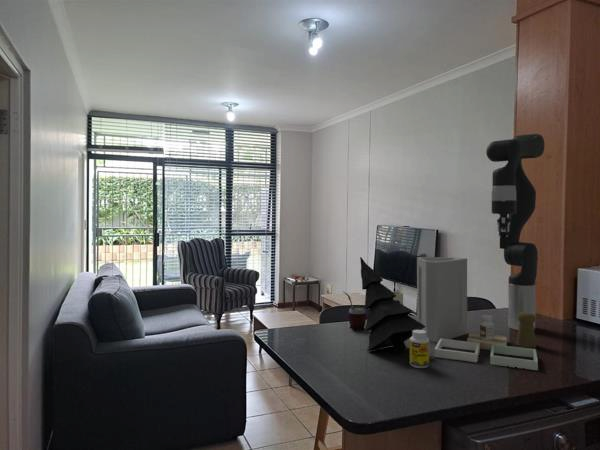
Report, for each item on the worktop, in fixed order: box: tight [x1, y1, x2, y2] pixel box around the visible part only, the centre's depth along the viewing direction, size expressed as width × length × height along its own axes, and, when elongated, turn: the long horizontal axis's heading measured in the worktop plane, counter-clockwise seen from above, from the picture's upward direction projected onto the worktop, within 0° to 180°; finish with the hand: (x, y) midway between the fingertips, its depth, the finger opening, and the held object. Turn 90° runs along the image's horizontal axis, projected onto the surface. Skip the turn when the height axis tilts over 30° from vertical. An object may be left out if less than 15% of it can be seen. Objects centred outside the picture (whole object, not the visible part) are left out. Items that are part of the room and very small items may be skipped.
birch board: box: [466, 332, 508, 351], centre depth 147 cm, size 12×12×2 cm
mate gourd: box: [343, 291, 367, 332], centre depth 169 cm, size 8×8×15 cm
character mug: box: [391, 290, 404, 305], centre depth 174 cm, size 11×7×13 cm, turn 131°
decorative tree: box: [359, 257, 426, 355], centre depth 146 cm, size 15×15×35 cm
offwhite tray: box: [434, 338, 481, 363], centre depth 138 cm, size 12×12×2 cm
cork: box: [515, 312, 537, 349], centre depth 146 cm, size 6×6×11 cm
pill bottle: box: [479, 314, 495, 340], centre depth 147 cm, size 4×4×8 cm
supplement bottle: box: [409, 330, 430, 369], centre depth 128 cm, size 6×6×10 cm
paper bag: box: [416, 256, 468, 344], centre depth 161 cm, size 19×15×28 cm
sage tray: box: [489, 344, 539, 371], centre depth 131 cm, size 12×12×2 cm
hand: (503, 247), depth 146 cm, fingers open, 8 cm apart
